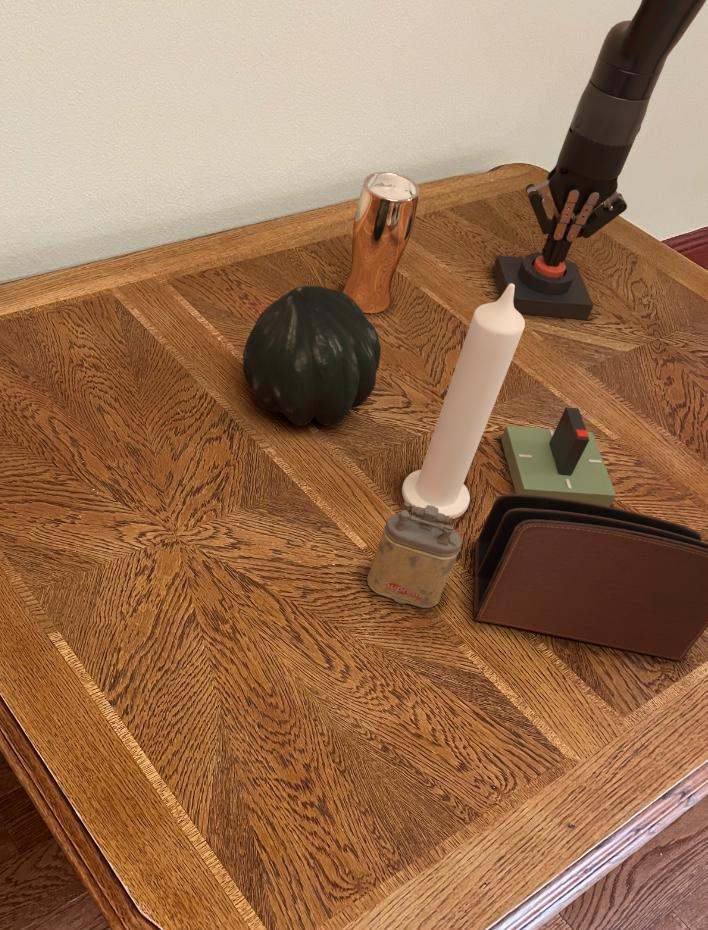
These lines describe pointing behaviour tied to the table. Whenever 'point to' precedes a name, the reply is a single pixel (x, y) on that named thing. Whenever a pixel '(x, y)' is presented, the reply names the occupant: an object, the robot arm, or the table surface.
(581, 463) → the dial panel
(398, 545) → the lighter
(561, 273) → the red button
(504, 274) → the button housing
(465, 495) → the candle
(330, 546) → the table surface
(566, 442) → the dial
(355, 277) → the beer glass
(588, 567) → the letter holder
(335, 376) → the squash
